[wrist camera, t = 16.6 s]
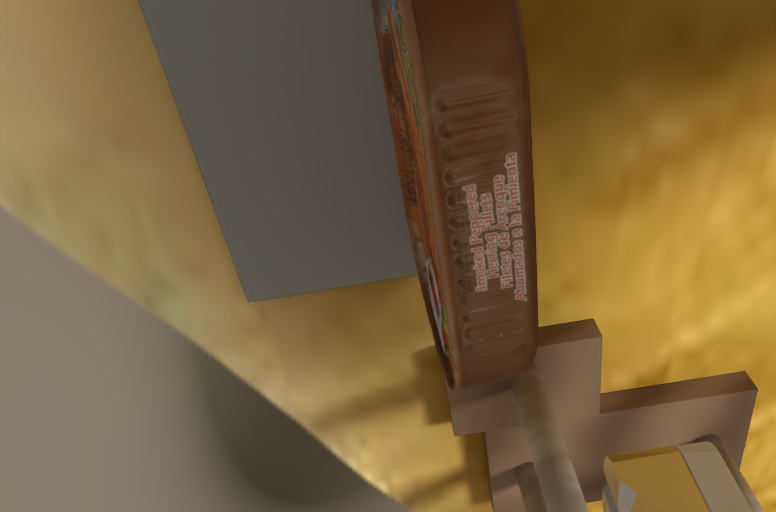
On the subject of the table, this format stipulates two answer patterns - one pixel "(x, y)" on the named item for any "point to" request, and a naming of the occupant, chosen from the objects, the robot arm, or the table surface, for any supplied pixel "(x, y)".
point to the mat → (289, 137)
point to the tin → (466, 177)
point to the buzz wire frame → (591, 423)
